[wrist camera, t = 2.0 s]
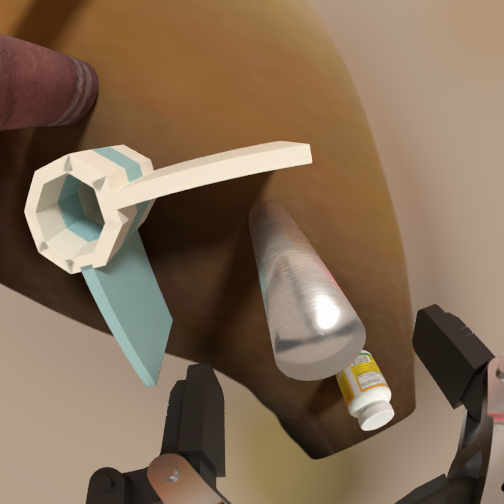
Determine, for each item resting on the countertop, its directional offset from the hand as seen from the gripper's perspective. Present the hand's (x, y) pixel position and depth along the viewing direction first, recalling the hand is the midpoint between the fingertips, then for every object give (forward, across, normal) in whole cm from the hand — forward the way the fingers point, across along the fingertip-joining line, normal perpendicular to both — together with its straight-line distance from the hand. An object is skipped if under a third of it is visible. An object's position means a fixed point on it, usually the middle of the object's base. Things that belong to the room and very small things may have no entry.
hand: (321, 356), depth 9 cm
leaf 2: (+16, +12, -1) cm, 20 cm away
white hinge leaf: (+16, +7, -6) cm, 19 cm away
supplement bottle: (+17, -8, +21) cm, 28 cm away
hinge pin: (+16, 0, 0) cm, 16 cm away
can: (+16, +14, -16) cm, 27 cm away
